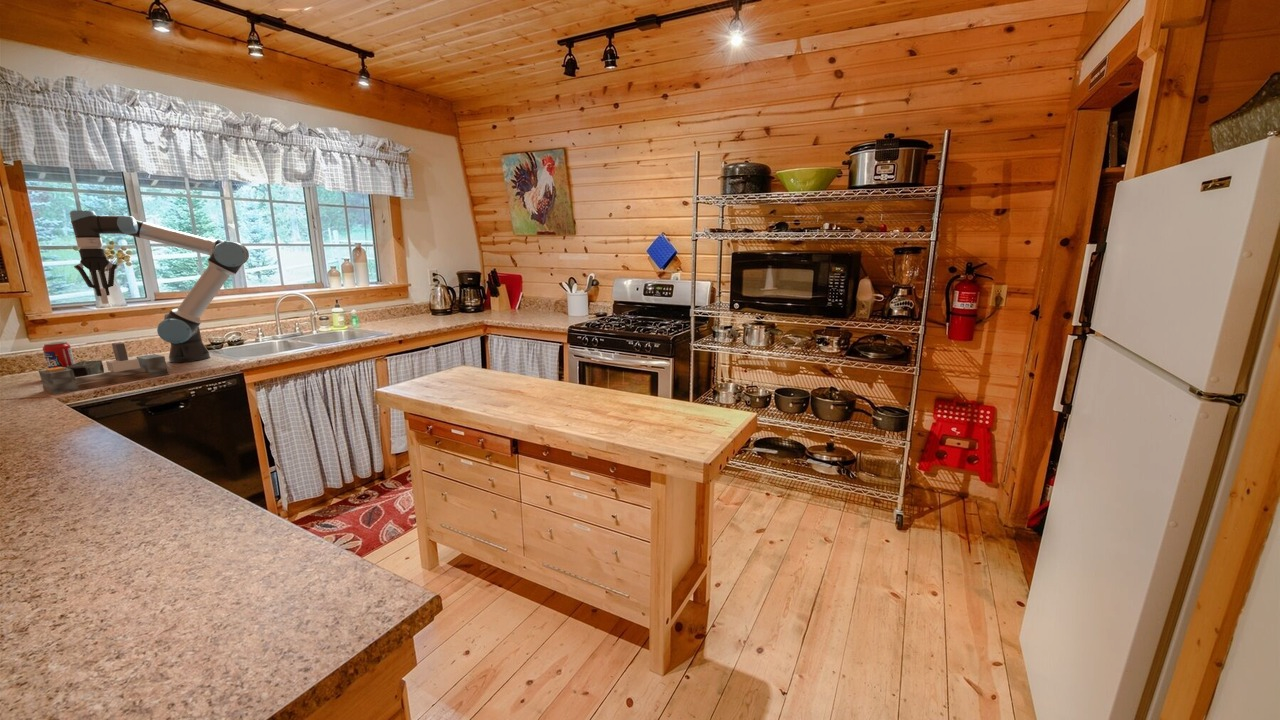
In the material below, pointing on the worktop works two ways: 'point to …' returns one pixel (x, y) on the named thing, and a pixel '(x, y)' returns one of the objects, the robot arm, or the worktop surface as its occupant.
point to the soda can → (58, 354)
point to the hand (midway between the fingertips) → (105, 303)
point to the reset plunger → (55, 369)
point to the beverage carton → (87, 368)
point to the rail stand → (102, 376)
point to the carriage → (121, 359)
